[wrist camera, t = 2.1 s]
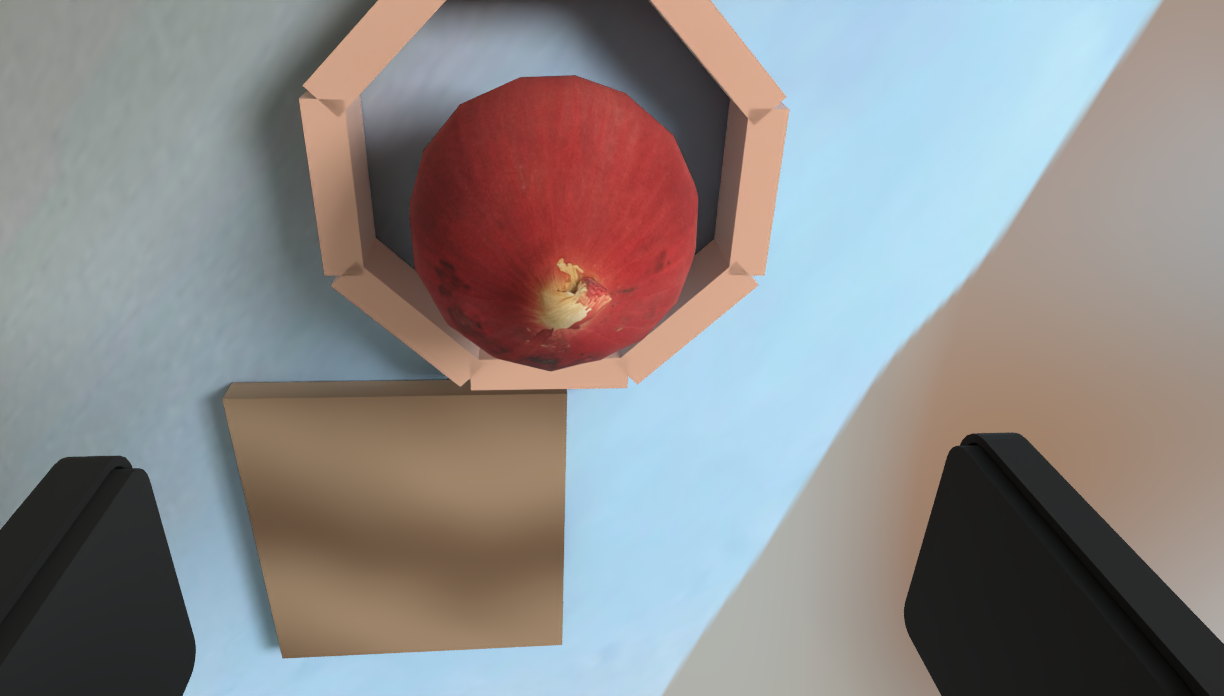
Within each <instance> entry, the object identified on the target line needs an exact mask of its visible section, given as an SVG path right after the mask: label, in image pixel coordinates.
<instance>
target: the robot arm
mask: <svg viewBox="0 0 1224 696" xmlns="http://www.w3.org/2000/svg"><path fill="white" fill-rule="evenodd" d="M904 619H905V625H906V628H907V631H908V634H909V636H910V638H911V640H912V642H913V644H914V646H915V647H916V649H917V651H918V653H919V655H920V657H921V659H922V660H923V662H924V664H925V666H926V668H927V670H928V672H929V673H930V675H931V677H932V679H933V681H934V683H935V684H936V686H937V688H938V690H939V692H940V694H941V696H1224V644H1223V643H1222V642H1221V641H1220V640H1219V639H1218V638H1217V637H1216V636H1215V635H1214V634H1213V633H1212V632H1211V630H1210V629H1209V628H1208V627H1207V626H1206V625H1205V624H1204V623H1203V622H1202V621H1201V620H1200V619H1199V618H1198V617H1197V616H1196V615H1195V614H1194V613H1193V612H1192V611H1191V610H1190V609H1189V608H1188V607H1187V606H1186V604H1185V603H1184V602H1183V601H1182V600H1181V599H1180V598H1179V597H1178V596H1177V595H1176V594H1175V593H1174V592H1173V591H1172V590H1171V589H1170V588H1169V587H1168V586H1167V585H1166V584H1165V583H1164V582H1163V581H1162V580H1161V579H1160V577H1159V576H1158V575H1157V574H1156V573H1155V572H1154V571H1153V570H1152V569H1151V568H1150V567H1149V566H1148V565H1147V564H1146V563H1145V562H1144V561H1143V560H1142V559H1141V558H1140V557H1139V556H1138V555H1137V554H1136V553H1135V551H1134V550H1133V549H1132V548H1131V547H1130V546H1129V545H1128V544H1127V543H1126V542H1125V541H1124V540H1123V539H1122V538H1121V537H1120V536H1119V535H1118V534H1117V533H1116V532H1115V531H1114V530H1113V529H1112V528H1111V527H1110V526H1109V524H1107V522H1106V521H1105V520H1104V519H1103V518H1102V517H1101V516H1100V515H1099V514H1098V513H1097V512H1096V511H1095V510H1094V509H1093V508H1092V507H1091V506H1090V505H1089V504H1088V503H1087V502H1086V501H1085V500H1084V499H1083V498H1082V496H1081V495H1079V494H1078V492H1077V491H1076V490H1075V489H1074V488H1073V487H1072V486H1071V485H1070V484H1069V483H1068V482H1067V481H1066V480H1065V479H1064V478H1063V477H1062V476H1061V475H1060V474H1059V473H1058V472H1057V470H1056V469H1055V468H1054V467H1053V466H1051V464H1050V463H1049V462H1048V461H1047V460H1046V459H1045V458H1044V457H1043V456H1042V455H1041V454H1040V453H1039V452H1038V451H1037V450H1036V449H1035V448H1034V447H1033V446H1032V445H1031V443H1029V441H1028V440H1027V439H1025V438H1024V437H1023V436H1022V435H1020V434H1017V433H981V434H980V433H978V434H970V435H967V436H966V437H965V438H964V439H963V440H962V442H961V444H960V446H955V447H953V448H952V449H951V450H950V451H949V454H948V456H947V460H946V463H945V466H944V470H943V473H942V477H941V480H940V484H939V487H938V490H937V494H936V498H935V501H934V505H933V508H932V511H931V515H930V518H929V522H928V525H927V529H926V532H925V536H924V539H923V543H922V546H921V550H920V553H919V556H918V560H917V564H916V567H915V570H914V574H913V577H912V581H911V585H910V588H909V592H908V595H907V598H906V602H905V607H904ZM195 654H196V645H195V639H194V635H193V632H192V628H191V625H190V621H189V618H188V614H187V610H186V607H185V603H184V600H183V596H182V593H181V589H180V586H179V582H178V579H177V575H176V572H175V568H174V564H173V561H172V557H171V554H170V550H169V547H168V543H167V540H166V536H165V533H164V529H163V525H162V522H161V518H160V515H159V511H158V508H157V504H156V501H155V497H154V494H153V490H152V487H151V483H150V480H149V477H148V475H147V473H146V472H145V471H144V470H143V469H140V468H134V469H133V468H132V466H131V463H130V462H129V461H128V460H127V459H126V458H125V457H122V456H88V457H66V458H63V459H61V460H59V461H58V462H57V463H56V464H55V465H54V466H53V467H52V468H51V470H50V471H49V472H48V473H47V474H46V476H45V477H44V478H43V479H42V480H41V482H40V483H39V484H38V485H37V486H36V488H35V489H34V490H33V491H32V492H31V494H30V495H29V496H28V497H27V498H26V500H25V501H24V502H23V503H22V504H21V506H20V507H19V508H18V509H17V510H16V512H15V513H14V514H13V515H12V516H11V518H10V519H9V520H8V521H7V522H6V524H5V525H4V526H3V527H2V529H1V530H0V696H183V693H184V691H185V689H186V686H187V684H188V682H189V679H190V677H191V674H192V671H193V668H194V663H195Z"/></svg>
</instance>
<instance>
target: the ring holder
mask: <svg viewBox="0 0 1224 696" xmlns="http://www.w3.org/2000/svg"><path fill="white" fill-rule="evenodd" d="M445 1H446V0H378V1H377V2H376V3H375V4H374V6H373V7H372V8H371V9H370V10H369V11H368V12H367V13H366V15H365V16H364V17H363V18H362V19H361V20H360V21H359V22H358V24H357V25H356V26H355V27H354V28H353V29H352V30H351V31H350V33H349V34H348V35H347V36H346V37H345V38H344V39H343V41H342V42H341V43H340V44H339V45H338V46H337V47H336V48H335V50H334V51H333V52H332V53H331V54H330V55H329V56H328V57H327V59H326V60H325V61H324V62H323V63H322V64H321V65H320V66H319V68H318V69H317V70H316V71H315V72H314V73H313V74H312V75H311V77H310V78H309V79H308V80H307V81H306V82H305V83H304V84H303V87H304V88H306V89H307V91H306V92H305V93H304V94H303V95H302V96H301V97H300V98H299V103H300V110H301V117H302V124H303V131H304V138H305V145H306V152H307V159H308V165H309V172H310V179H311V186H312V193H313V200H314V207H315V214H316V221H317V228H318V235H319V241H320V248H321V255H322V262H323V269H324V276H335V278H334V280H333V282H332V284H331V287H333V288H334V289H335V290H337V291H338V292H339V293H340V294H342V295H343V296H344V297H346V298H347V299H348V300H349V301H351V302H352V303H353V304H355V305H356V306H357V307H358V308H360V309H361V310H362V311H363V312H365V313H366V314H367V315H369V316H370V317H371V318H372V319H374V320H375V321H376V322H378V323H379V324H380V325H381V326H383V327H384V328H385V329H387V330H388V331H389V332H390V333H392V334H393V335H394V336H396V337H397V338H398V339H399V340H401V341H402V342H403V343H405V344H406V345H407V346H408V347H410V348H411V349H412V350H414V351H415V352H416V353H417V354H419V355H420V356H421V357H423V358H424V359H425V360H426V361H428V362H429V363H430V364H432V365H433V366H434V367H435V368H437V369H438V370H439V371H441V372H442V373H443V374H444V375H446V376H447V377H448V378H450V379H451V380H452V381H453V382H455V383H456V384H457V385H459V386H460V387H461V386H462V385H463V384H464V383H465V382H466V381H468V380H469V379H470V380H471V390H525V389H590V388H627V384H628V376H629V377H630V378H631V379H632V380H633V381H634V382H636V383H637V384H638V383H640V382H641V381H642V380H643V379H645V378H646V377H647V376H648V375H649V374H651V373H652V372H653V371H654V370H656V369H657V368H658V367H659V366H660V365H662V364H663V363H664V362H665V361H667V360H668V359H669V358H670V357H671V356H673V355H674V354H675V353H676V352H678V351H679V350H680V349H681V348H682V347H684V346H685V345H686V344H687V343H689V342H690V341H691V340H692V339H693V338H695V337H696V336H697V335H698V334H700V333H701V332H702V331H703V330H704V329H706V328H707V327H708V326H709V325H711V324H712V323H713V322H714V321H715V320H717V319H718V318H719V317H720V316H722V315H723V314H724V313H725V312H726V311H728V310H729V309H730V308H731V307H733V306H734V305H735V304H736V303H737V302H739V301H740V300H741V299H742V298H744V297H745V296H746V295H747V294H748V293H750V292H751V291H752V290H753V289H755V288H756V287H757V286H758V283H757V281H756V280H755V278H754V276H753V275H765V268H766V262H767V255H768V249H769V242H770V235H771V229H772V222H773V215H774V209H775V202H776V195H777V189H778V182H779V176H780V169H781V162H782V156H783V149H784V142H785V136H786V129H787V122H788V116H789V108H787V107H786V106H785V105H784V104H783V103H782V102H781V101H782V100H784V99H785V98H786V96H785V94H784V93H783V92H782V91H781V89H780V88H779V87H778V86H777V84H776V83H775V82H774V80H773V79H772V78H771V77H770V75H769V74H768V73H767V72H766V70H765V69H764V68H763V66H762V65H761V64H760V63H759V61H758V60H757V59H756V58H755V56H754V55H753V54H752V52H751V51H750V50H749V49H748V47H747V46H746V45H745V44H744V42H743V41H742V40H741V39H740V37H739V36H738V35H737V33H736V32H735V31H734V30H733V28H732V27H731V26H730V25H729V23H728V22H727V21H726V19H725V18H724V17H723V16H722V14H721V13H720V12H719V11H718V9H717V8H716V7H715V5H714V4H713V3H712V2H711V0H648V1H649V2H650V3H651V5H652V6H653V7H654V8H655V9H656V11H657V12H658V13H659V14H660V15H661V17H662V18H663V19H664V20H665V21H666V23H667V24H668V25H669V26H670V27H671V29H672V30H673V31H674V32H675V34H676V35H677V36H678V37H679V38H680V40H681V41H682V42H683V43H684V44H685V46H686V47H687V48H688V49H689V50H690V52H691V53H692V54H693V55H694V56H695V58H696V59H697V60H698V61H699V62H700V64H701V65H702V66H703V67H704V69H705V70H706V71H707V72H708V73H709V75H710V76H711V77H712V78H713V79H714V81H715V82H716V83H717V84H718V85H719V87H720V88H721V89H722V90H723V91H724V93H725V94H726V95H727V96H728V97H729V99H730V103H729V112H728V121H727V130H726V138H725V147H724V156H723V165H722V174H721V182H720V191H719V200H718V209H717V217H716V226H715V235H714V239H713V240H712V241H711V242H710V243H708V244H707V245H706V246H705V247H704V248H703V249H701V250H700V251H699V252H698V253H697V254H696V255H694V258H693V261H692V264H691V266H690V269H689V272H688V274H687V277H686V280H685V282H684V285H683V288H682V291H681V293H680V296H679V299H678V301H677V303H676V304H675V305H674V306H673V307H672V308H671V309H670V311H669V312H668V313H667V314H666V315H665V316H664V317H663V318H662V319H661V320H660V321H659V322H658V323H657V325H656V326H655V327H654V328H653V329H652V330H651V331H650V332H649V333H648V334H647V335H646V336H645V337H644V339H643V340H641V341H639V342H636V343H634V344H632V345H630V346H628V347H625V348H623V349H621V350H619V351H617V352H615V353H613V354H611V355H609V356H607V357H605V358H604V359H602V360H599V361H594V362H589V363H583V364H579V365H575V366H571V367H567V368H563V369H559V370H556V371H552V372H550V371H546V370H542V369H538V368H533V367H529V366H525V365H521V364H517V363H513V362H509V361H504V360H500V359H497V358H495V357H492V356H491V355H489V354H488V353H486V352H485V351H484V350H482V349H481V348H480V347H478V346H477V345H475V344H474V343H473V342H471V341H470V340H468V339H467V338H466V337H464V336H463V335H462V334H460V333H459V332H457V331H456V330H455V329H453V328H452V327H450V326H449V325H448V324H447V323H446V321H445V320H444V318H443V317H442V315H441V313H440V312H439V310H438V308H437V306H436V305H435V303H434V301H433V300H432V298H431V296H430V294H429V293H428V291H427V289H426V287H425V286H424V284H423V282H422V280H421V279H420V277H419V275H418V274H417V272H416V271H415V270H414V269H413V268H412V267H411V266H410V265H408V264H407V263H406V262H405V261H404V260H402V259H401V258H400V257H399V256H398V255H396V254H395V253H394V252H393V251H392V250H390V249H389V248H388V247H387V246H386V245H384V244H383V243H382V242H381V241H380V240H378V239H377V238H376V236H375V227H374V218H373V209H372V199H371V190H370V181H369V171H368V162H367V153H366V143H365V134H364V125H363V116H362V106H361V97H360V94H361V92H362V91H363V90H364V89H365V88H366V87H367V86H368V85H369V84H370V83H371V82H372V80H373V79H374V78H375V77H376V76H377V75H378V74H379V73H380V72H381V71H382V70H383V68H384V67H385V66H386V65H387V64H388V63H389V62H390V61H391V60H392V59H393V58H394V57H395V55H396V54H397V53H398V52H399V51H400V50H401V49H402V48H403V47H404V46H405V45H406V43H407V42H408V41H409V40H410V39H411V38H412V37H413V36H414V35H415V34H416V33H417V31H418V30H419V29H420V28H421V27H422V26H423V25H424V24H425V23H426V22H427V21H428V19H429V18H430V17H431V16H432V15H433V14H434V13H435V12H436V11H437V10H438V9H439V7H440V6H441V5H442V4H443V3H444V2H445Z"/></svg>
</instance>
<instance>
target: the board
mask: <svg viewBox="0 0 1224 696" xmlns="http://www.w3.org/2000/svg"><path fill="white" fill-rule="evenodd" d="M222 400H223V405H224V409H225V413H226V418H227V422H228V426H229V430H230V435H231V439H232V443H233V448H234V452H235V456H236V461H237V465H238V469H239V473H240V478H241V482H242V486H243V491H244V495H245V499H246V504H247V508H248V512H249V516H250V521H251V525H252V529H253V534H254V538H255V542H256V547H257V551H258V555H259V559H260V564H261V568H262V572H263V577H264V581H265V585H266V589H267V594H268V598H269V602H270V607H271V611H272V615H273V620H274V624H275V628H276V632H277V637H278V641H279V645H280V650H281V654H282V658H301V657H322V656H342V655H362V654H383V653H403V652H424V651H444V650H465V649H485V648H506V647H526V646H547V645H562V621H563V570H564V520H565V469H566V418H567V389H525V390H471V380H470V379H469V380H468V381H466V382H465V383H464V384H463V385H462V386H461V387H460V386H459V385H457V384H456V383H455V382H453V381H452V380H393V381H322V382H251V383H231V385H230V386H229V388H228V390H227V392H226V393H225V395H224V397H223V399H222Z"/></svg>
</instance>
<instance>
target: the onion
mask: <svg viewBox="0 0 1224 696" xmlns="http://www.w3.org/2000/svg"><path fill="white" fill-rule="evenodd" d="M697 216H698V194H697V190H696V187H695V183H694V181H693V179H692V176H691V174H690V172H689V170H688V167H687V165H686V163H685V160H684V158H683V156H682V154H681V151H680V149H679V147H678V145H677V142H676V140H675V138H674V135H672V134H671V133H670V132H669V131H668V130H667V129H666V128H664V127H663V126H662V125H661V124H660V123H659V122H657V121H656V120H655V119H654V118H653V117H652V116H651V115H649V114H648V113H647V112H646V111H645V110H644V109H643V108H641V107H640V106H639V105H638V104H637V103H636V102H635V101H634V100H633V99H631V98H630V97H629V96H628V95H627V94H626V93H624V92H621V91H618V90H615V89H612V88H609V87H607V86H604V85H601V84H598V83H595V82H592V81H590V80H587V79H584V78H581V77H578V76H575V75H571V76H543V77H520V78H518V79H515V80H513V81H511V82H509V83H506V84H504V85H502V86H500V87H498V88H495V89H493V90H491V91H489V92H487V93H484V94H482V95H480V96H478V97H476V98H473V99H471V100H469V101H467V102H464V103H462V104H460V105H459V106H458V108H457V109H456V110H455V111H454V113H453V114H452V115H451V117H450V118H449V119H448V120H447V122H446V123H445V124H444V125H443V127H442V128H441V129H440V130H439V132H438V133H437V134H436V135H435V137H434V138H433V139H432V140H431V142H430V143H429V144H428V146H427V147H426V148H425V149H424V151H423V154H422V158H421V162H420V166H419V169H418V173H417V177H416V181H415V185H414V188H413V192H412V196H411V200H410V227H411V237H412V246H413V256H414V266H415V270H416V272H417V274H418V275H419V277H420V279H421V280H422V282H423V284H424V286H425V287H426V289H427V291H428V293H429V294H430V296H431V298H432V300H433V301H434V303H435V305H436V306H437V308H438V310H439V312H440V313H441V315H442V317H443V318H444V320H445V321H446V323H447V324H448V325H449V326H450V327H452V328H453V329H455V330H456V331H457V332H459V333H460V334H462V335H463V336H464V337H466V338H467V339H468V340H470V341H471V342H473V343H474V344H475V345H477V346H478V347H480V348H481V349H482V350H484V351H485V352H486V353H488V354H489V355H491V356H492V357H495V358H497V359H500V360H504V361H509V362H513V363H517V364H521V365H525V366H529V367H533V368H538V369H542V370H546V371H550V372H552V371H556V370H559V369H563V368H567V367H571V366H575V365H579V364H583V363H589V362H594V361H599V360H602V359H604V358H605V357H607V356H609V355H611V354H613V353H615V352H617V351H619V350H621V349H623V348H625V347H628V346H630V345H632V344H634V343H636V342H639V341H641V340H643V339H644V337H645V336H646V335H647V334H648V333H649V332H650V331H651V330H652V329H653V328H654V327H655V326H656V325H657V323H658V322H659V321H660V320H661V319H662V318H663V317H664V316H665V315H666V314H667V313H668V312H669V311H670V309H671V308H672V307H673V306H674V305H675V304H676V303H677V301H678V299H679V296H680V293H681V291H682V288H683V285H684V282H685V280H686V277H687V274H688V272H689V269H690V266H691V264H692V261H693V258H694V254H695V249H696V237H697Z"/></svg>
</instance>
